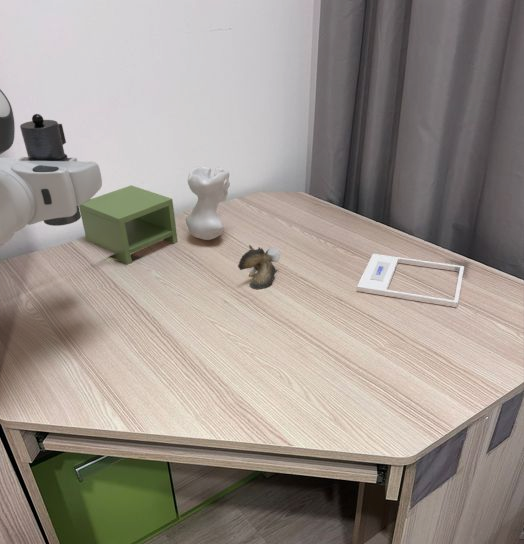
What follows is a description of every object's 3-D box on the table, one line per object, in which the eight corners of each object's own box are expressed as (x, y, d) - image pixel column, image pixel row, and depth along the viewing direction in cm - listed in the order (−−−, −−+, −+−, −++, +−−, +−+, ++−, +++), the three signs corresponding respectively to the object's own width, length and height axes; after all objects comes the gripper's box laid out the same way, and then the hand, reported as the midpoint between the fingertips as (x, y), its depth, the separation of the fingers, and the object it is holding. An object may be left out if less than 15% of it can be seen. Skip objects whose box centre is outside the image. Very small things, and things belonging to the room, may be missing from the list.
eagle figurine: (238, 260, 109) (228, 274, 101) (257, 232, 106) (249, 243, 98) (269, 282, 110) (262, 297, 102) (288, 254, 107) (283, 267, 99)
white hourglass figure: (180, 240, 121) (172, 173, 112) (212, 223, 128) (207, 159, 119) (212, 250, 116) (206, 181, 107) (244, 232, 123) (241, 167, 115)
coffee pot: (72, 226, 87) (47, 119, 78) (37, 225, 88) (7, 118, 78) (93, 204, 95) (72, 104, 85) (61, 203, 95) (36, 104, 86)
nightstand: (88, 246, 119) (78, 203, 113) (138, 226, 128) (131, 185, 122) (127, 264, 112) (118, 219, 106) (177, 242, 120) (172, 198, 114)
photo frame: (373, 252, 111) (464, 265, 105) (372, 257, 112) (463, 270, 106) (357, 285, 100) (458, 301, 94) (356, 290, 101) (456, 307, 95)
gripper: (-53, 213, 77) (-5, 181, 88) (84, 216, 75) (116, 183, 86) (-70, 168, 73) (-17, 141, 84) (74, 171, 71) (109, 142, 83)
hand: (51, 162), depth 85 cm, fingers closed on coffee pot, 6 cm apart
